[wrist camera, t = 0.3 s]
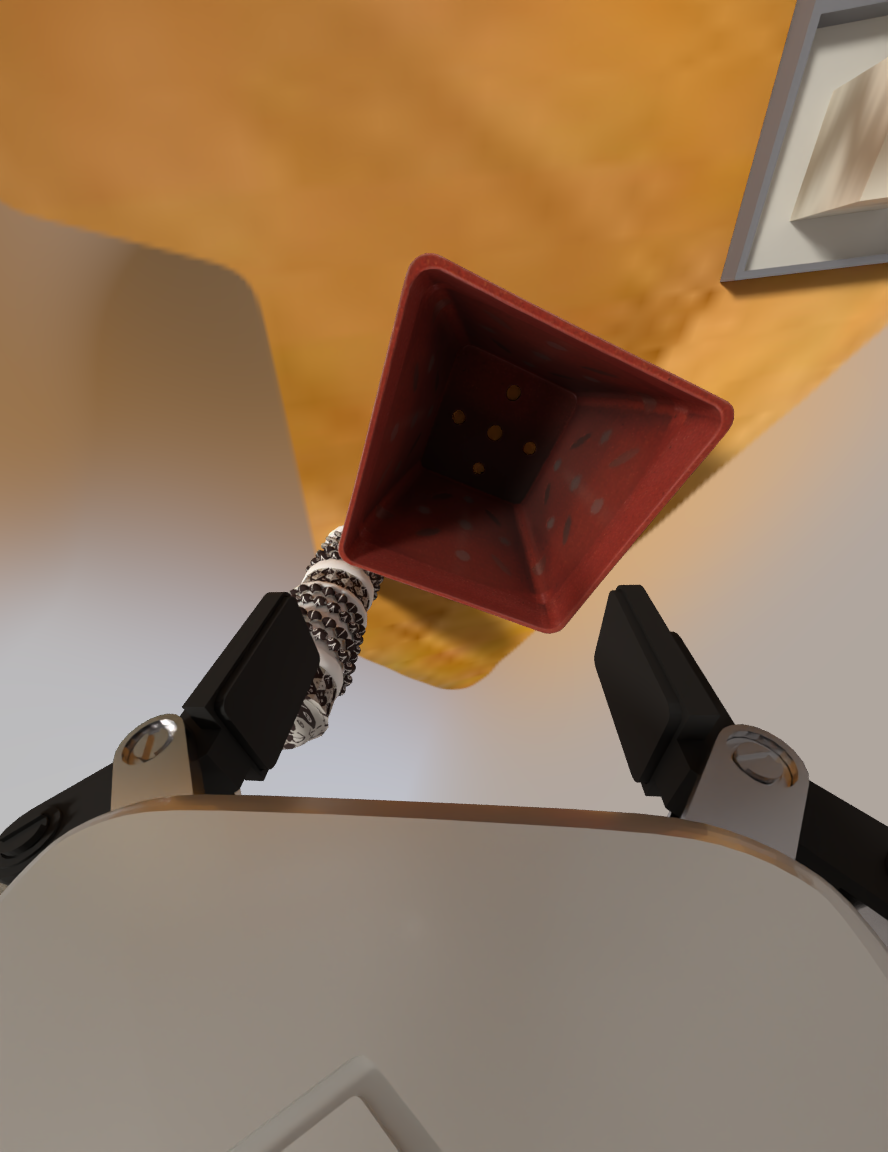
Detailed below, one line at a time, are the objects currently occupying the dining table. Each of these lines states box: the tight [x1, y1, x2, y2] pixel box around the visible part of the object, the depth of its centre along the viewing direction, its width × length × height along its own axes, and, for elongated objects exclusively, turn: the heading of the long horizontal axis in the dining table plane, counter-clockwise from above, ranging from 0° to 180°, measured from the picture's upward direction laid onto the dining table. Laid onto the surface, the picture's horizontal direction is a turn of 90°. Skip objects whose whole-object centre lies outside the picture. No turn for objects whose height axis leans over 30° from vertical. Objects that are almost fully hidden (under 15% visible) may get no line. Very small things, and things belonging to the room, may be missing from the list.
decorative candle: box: [282, 525, 384, 750], centre depth 37 cm, size 9×9×25 cm
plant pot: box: [338, 253, 734, 634], centre depth 30 cm, size 19×19×17 cm
